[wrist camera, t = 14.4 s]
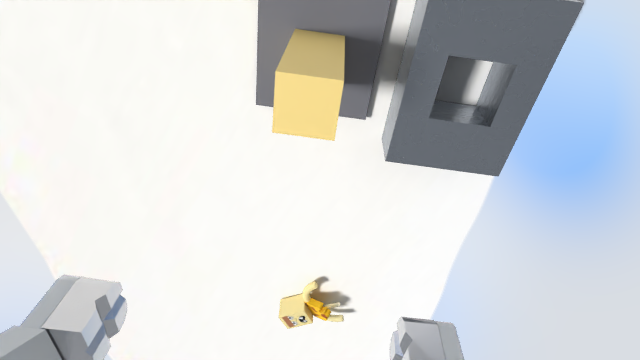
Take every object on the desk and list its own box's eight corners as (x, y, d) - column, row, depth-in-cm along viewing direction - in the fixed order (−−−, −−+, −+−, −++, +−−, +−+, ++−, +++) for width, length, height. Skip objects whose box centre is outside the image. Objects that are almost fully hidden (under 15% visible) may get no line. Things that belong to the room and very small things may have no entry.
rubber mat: (260, -21, 28) (258, -20, 28) (390, -2, 28) (390, 0, 28) (257, 101, 34) (256, 104, 33) (365, 116, 34) (365, 119, 34)
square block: (295, 28, 29) (275, 71, 21) (344, 35, 30) (344, 80, 21) (291, 77, 32) (272, 132, 24) (337, 83, 32) (334, 140, 24)
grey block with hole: (423, -27, 27) (433, -20, 24) (556, -8, 27) (584, 2, 24) (381, 138, 35) (385, 161, 32) (484, 152, 36) (498, 176, 32)
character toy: (348, 330, 48) (294, 340, 50) (348, 309, 51) (296, 319, 53) (325, 293, 44) (267, 306, 46) (326, 272, 47) (271, 285, 49)
